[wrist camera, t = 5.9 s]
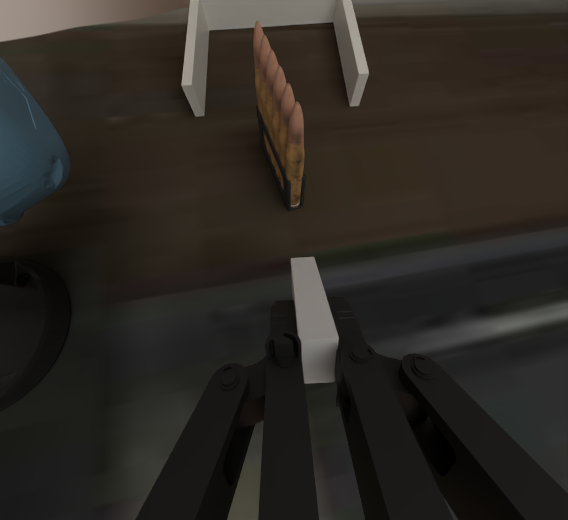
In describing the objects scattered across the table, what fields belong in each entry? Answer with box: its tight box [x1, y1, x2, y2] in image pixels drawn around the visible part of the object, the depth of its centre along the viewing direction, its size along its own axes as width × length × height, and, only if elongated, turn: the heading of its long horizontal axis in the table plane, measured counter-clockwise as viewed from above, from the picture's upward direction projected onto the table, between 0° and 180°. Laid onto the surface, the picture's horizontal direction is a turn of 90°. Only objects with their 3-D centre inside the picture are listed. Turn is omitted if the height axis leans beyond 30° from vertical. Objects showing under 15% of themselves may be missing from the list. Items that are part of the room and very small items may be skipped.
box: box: [182, 0, 369, 117], centre depth 30 cm, size 22×19×4 cm
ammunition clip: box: [254, 21, 306, 211], centre depth 21 cm, size 11×2×12 cm, turn 19°
